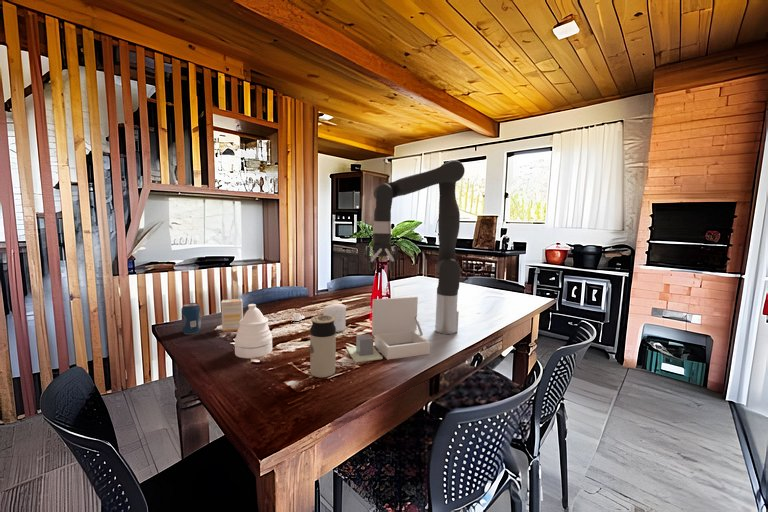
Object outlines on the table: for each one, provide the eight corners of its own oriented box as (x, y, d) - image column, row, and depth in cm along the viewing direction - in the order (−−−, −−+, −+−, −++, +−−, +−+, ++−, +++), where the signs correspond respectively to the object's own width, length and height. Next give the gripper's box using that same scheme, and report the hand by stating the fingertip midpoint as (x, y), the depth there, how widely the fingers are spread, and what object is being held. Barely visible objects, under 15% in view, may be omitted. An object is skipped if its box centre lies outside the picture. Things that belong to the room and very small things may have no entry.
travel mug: (335, 366, 111) (335, 314, 109) (335, 377, 103) (336, 321, 101) (310, 367, 110) (310, 314, 108) (309, 379, 102) (309, 322, 100)
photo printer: (342, 328, 150) (343, 301, 149) (347, 330, 147) (347, 303, 146) (321, 331, 145) (321, 304, 144) (325, 334, 141) (325, 306, 140)
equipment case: (415, 340, 137) (416, 296, 135) (432, 353, 124) (434, 305, 122) (371, 345, 131) (372, 299, 129) (384, 359, 117) (386, 309, 115)
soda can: (180, 331, 141) (179, 304, 139) (199, 328, 145) (198, 301, 144) (184, 336, 135) (182, 307, 134) (202, 332, 140) (201, 305, 139)
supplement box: (243, 326, 149) (242, 298, 147) (242, 330, 144) (241, 301, 143) (223, 328, 146) (222, 299, 145) (221, 331, 141) (220, 302, 140)
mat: (371, 346, 129) (371, 345, 129) (382, 358, 118) (382, 357, 118) (346, 349, 125) (346, 348, 125) (355, 362, 114) (355, 360, 114)
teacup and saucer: (301, 318, 165) (301, 310, 165) (309, 321, 159) (309, 313, 159) (285, 321, 159) (285, 313, 159) (293, 325, 153) (293, 316, 153)
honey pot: (269, 357, 117) (268, 307, 115) (230, 359, 115) (229, 308, 113) (274, 343, 129) (274, 299, 128) (240, 345, 127) (239, 299, 125)
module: (368, 349, 125) (369, 333, 124) (373, 354, 120) (373, 338, 119) (356, 350, 123) (356, 335, 122) (359, 356, 118) (360, 339, 118)
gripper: (394, 232, 145) (393, 268, 147) (363, 231, 140) (362, 269, 142) (401, 232, 138) (400, 271, 140) (368, 232, 133) (368, 272, 135)
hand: (381, 270), depth 141 cm, fingers open, 8 cm apart
